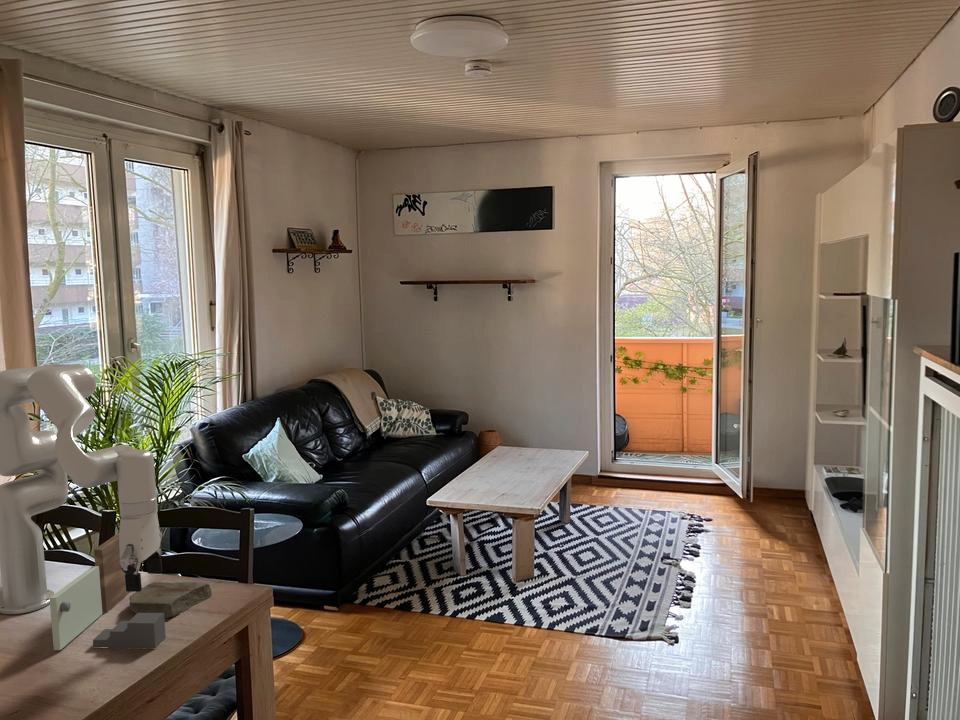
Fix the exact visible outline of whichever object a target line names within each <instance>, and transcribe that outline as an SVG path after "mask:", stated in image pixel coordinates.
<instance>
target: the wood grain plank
mask: <svg viewBox="0 0 960 720" xmlns="http://www.w3.org/2000/svg"><path fill="white" fill-rule="evenodd" d="M93 554H94V555H93V556H94V566H99V574H100V588H101V601H102V614H108V613H109V612H110V611H111V610H112V609H114V608H115V606H116V604H119V603H120V602H121V601H123V599H125V598H126V597H127V596H128V595H129V594H131V592H127V591H126V583H125V575H124V574H123V571H122V569H121V568H122V567H121V565H120V549H119V532H118V533H116V534H115V535H113V536H112V537H110V538H109V539H108V540H106V541H105V542H103V543H102V544H100V545H99V546H96V548H95V549H93ZM131 559H133V558H131ZM130 565H132V566H133V563H130ZM125 596H126V597H125ZM124 597H125V598H124ZM118 602H119V603H118ZM109 610H110V611H109ZM108 611H109V612H108Z"/></svg>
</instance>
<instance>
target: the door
mask: <svg viewBox="0 0 960 720" xmlns="http://www.w3.org/2000/svg"><path fill="white" fill-rule="evenodd" d="M49 599H50V604H49V609H50V619H51V620H50V621H51V632H52V633H51V634H52V644H53V645H52V646H53V651H61V650H63V648H65V647H66V646H67V645H68V644H70V643H71V642H72V641H73V640H74V639H75V638H76V637H78V636H79V635H80V634H81V633H82V632H83V631H84V630H86V629H87V628H88V627H89V626H90V625H91V624H92V623H94V622H95V621H96V620H97V619H98V618H99V617H101V616H102V615H103V613H102V601H101V588H100V574H99V566H95V565H93V566H91V567H90V568H88V569H87V570H85V571H84V572H83V573H81V574H79V576H77V577H76V578H74V579H73V580H72V581H70V582H69V583H67V584H66V585H65V586H64V587H63V588H61V589H59V590H57V592H54V595H53V596H51V597H50V598H49Z"/></svg>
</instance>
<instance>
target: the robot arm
mask: <svg viewBox="0 0 960 720" xmlns="http://www.w3.org/2000/svg"><path fill="white" fill-rule="evenodd" d="M96 379H97V378H96V376H95V375H94V372H93V371H92V370H91V369H90V368H88V367H87V366H85V365H84V364H81V363H70V364H69V363H68V364H66V363H65V364H60V363H59V364H55V363H54V364H46V365H45V364H44V365H36V366H32V367H31V366H30V367H21V368H19V367H17V368H11V369H7V370H0V476H3V477H14V476H19V475H24V474H28V473H32V472H36V471H37V472H38V474H34V475H30V476H26V477H22V478H19V479H14V480H10V481H8V482H4V483H2V484H0V579H1V586H0V614H3V615H20V614H26V613H31V612H33V611H38V610H40V609H42V608H45V607H46V606H50V599H49V598H50V597H51V596H53V595H54V594H55V592H54V591H53V590H51V589H48V586H47V576H46V573H47V572H46V564H45V563H46V562H45V551H44V550H45V549H44V539H43V532H42V529H41V528H40V527H39V525H38V524H36V522H34V521H33V520H32V517H33V516H35V515H38V514H41V513H45V512H48V511H51V510H54V509H57V508H59V507H61V506H63V505H64V504H65V503H66V502H67V499H68V497H69V481H68V477H69V478H70V479H71V480H72V481H73V482H74V483H75V484H76V485H78V486H79V487H82V488H87V489H88V488H90V489H91V488H96V487H98V486H102V485H105V484H108V483H112V482H117V494H118V502H119V514H120V522H119V531H118V533H119V549H120V565H121V567H122V568H121V569H122V571H123V574H124V575H125V583H126V591H127V592H130V593H135V592H140V591H141V590H142V588H143V587H142V586H143V585H142V575H141V572H139V571H140V569H141V568H140V567H141V563H143V562H144V561H145V560H146V571H147V574H149V575H153V574H155V575H156V574H157V575H159V574H162V573H163V564H162V563H163V562H162V554H163V552H162V545H163V542H162V540H163V539H162V537H163V532H162V531H160V524H159V523H160V522H159V518H158V496H157V485H156V484H157V483H156V473H155V472H156V471H155V460H154V459H155V458H154V454H153V453H152V452H151V450H148V449H141V448H139V449H138V448H135V447H133V446H130V445H128V444H119V445H114V446H110V447H106V448H102V449H97V450H93V451H89V452H84V450H82V448H81V447H80V446H79V445H78V443H77V442H76V440H75V438H76V437H78V436H79V435H80V434H81V433H82V432H84V431H85V430H87V428H88V427H89V426H90V425H91V424H92V423H93V422H94V419H95V417H96V411H95V408H94V407H93V406H92V405H91V404H90V402H89V401H88V400H87V399H86V398H89V397H90V396H93V394H94V393H95V391H96V389H97V381H96ZM30 403H36V404H37V405H38V407H39V408H40V409H41V410H42V411H43V413H44V414H45V415H46V417H47V418H48V419H49V420H50V422H51V423H52V424H53V426H55V428H56V429H57V433H56V432H55V431H51V430H39V431H34V432H32V430H31V421H30V420H31V419H30V416H29V414H28V413H27V411H26V410H25V409H24V408H23V407H22V406H21V405H24V404H30ZM131 558H132V559H131ZM130 563H132V565H130ZM133 564H134V566H133Z"/></svg>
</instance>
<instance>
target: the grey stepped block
mask: <svg viewBox="0 0 960 720" xmlns="http://www.w3.org/2000/svg"><path fill="white" fill-rule="evenodd" d="M165 621H166V619H164V613H137V614H136V613H135V614H134V616H133V617H132V618H131V619H130V620H120V621H119V623H118V624H116V625H115V626H114V627H113V628H104V629H103V630H101V632H100V633H99V634H97V635H96V636H95V637H94V638H93V639H92V645H93V646H92V647H108V648H107V649H111V648H156V647H157V646H158V645H159V644H160V643H161V642H162V641H163V642H164V641H165V639H166V622H165ZM163 642H162V643H163ZM162 643H161V644H162ZM161 644H160V645H161ZM160 645H159V646H160ZM159 646H158V647H159ZM158 647H157V648H158ZM157 648H156V649H157Z"/></svg>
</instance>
